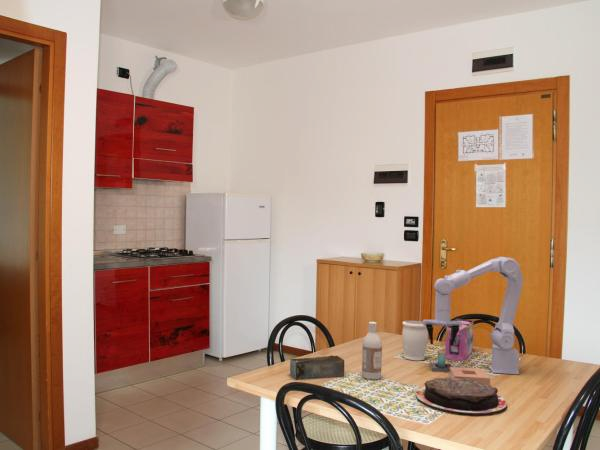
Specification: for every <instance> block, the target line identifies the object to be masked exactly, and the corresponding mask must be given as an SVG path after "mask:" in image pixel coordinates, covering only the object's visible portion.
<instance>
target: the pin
mask: <svg viewBox="0 0 600 450" xmlns="http://www.w3.org/2000/svg"><path fill="white" fill-rule="evenodd" d="M445 358H446V351H445V349H444V350H442V349H438V350H437V358H436V359H437V360H436V361H437V362H436V363H437V367H445V363H446V359H445Z"/></svg>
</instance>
